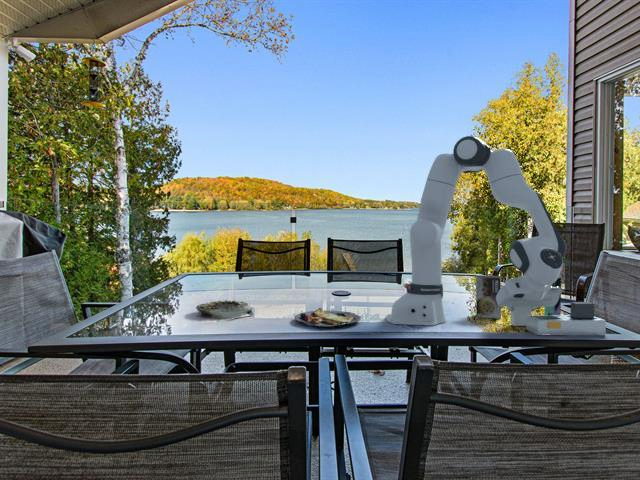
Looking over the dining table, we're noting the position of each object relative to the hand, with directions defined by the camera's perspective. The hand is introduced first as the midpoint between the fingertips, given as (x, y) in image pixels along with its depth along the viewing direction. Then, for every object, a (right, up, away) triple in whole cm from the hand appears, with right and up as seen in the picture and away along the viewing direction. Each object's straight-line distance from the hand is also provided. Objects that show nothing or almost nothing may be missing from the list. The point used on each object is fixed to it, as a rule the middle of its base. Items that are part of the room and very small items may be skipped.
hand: (520, 310), depth 153 cm
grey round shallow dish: (-113, -6, +23) cm, 116 cm away
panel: (0, -5, 0) cm, 5 cm away
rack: (+10, -6, -11) cm, 16 cm away
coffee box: (-6, -5, +15) cm, 17 cm away
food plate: (-70, -6, +8) cm, 70 cm away
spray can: (+16, -5, +8) cm, 19 cm away
